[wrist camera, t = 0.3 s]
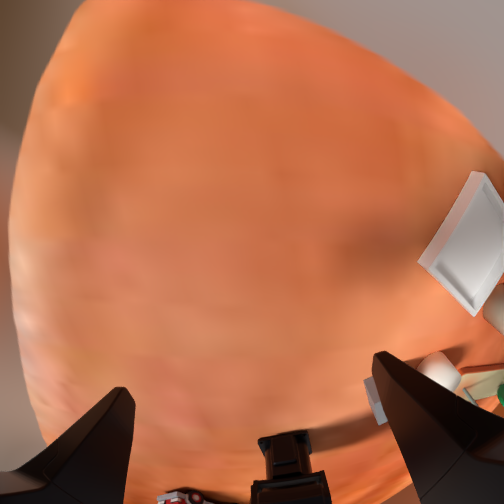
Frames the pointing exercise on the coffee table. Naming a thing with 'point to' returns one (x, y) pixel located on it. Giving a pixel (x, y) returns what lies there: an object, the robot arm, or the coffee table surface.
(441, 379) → the white rounded cylinder
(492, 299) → the pale green cylinder
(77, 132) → the coffee table surface
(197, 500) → the toy fire truck
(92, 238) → the coffee table surface
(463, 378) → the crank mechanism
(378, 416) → the grey block
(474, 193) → the white tray
